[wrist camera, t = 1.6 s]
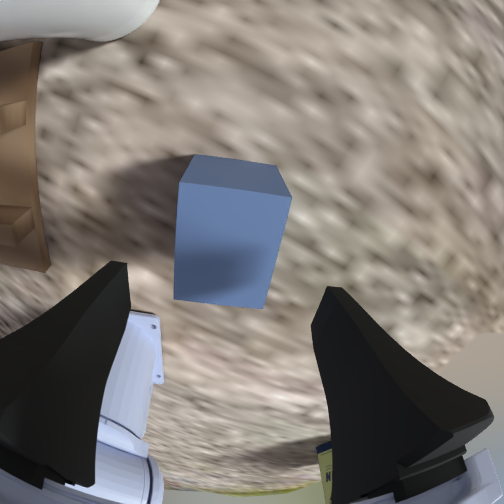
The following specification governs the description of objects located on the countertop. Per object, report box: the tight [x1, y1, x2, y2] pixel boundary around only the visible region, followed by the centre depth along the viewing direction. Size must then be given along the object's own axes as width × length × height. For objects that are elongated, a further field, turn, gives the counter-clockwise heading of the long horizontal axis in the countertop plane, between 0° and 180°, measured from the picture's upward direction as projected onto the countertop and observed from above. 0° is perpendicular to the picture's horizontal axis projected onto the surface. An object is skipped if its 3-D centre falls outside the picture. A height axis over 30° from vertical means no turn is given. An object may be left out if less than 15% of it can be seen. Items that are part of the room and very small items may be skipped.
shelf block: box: [174, 154, 292, 309], centre depth 15 cm, size 6×4×5 cm
